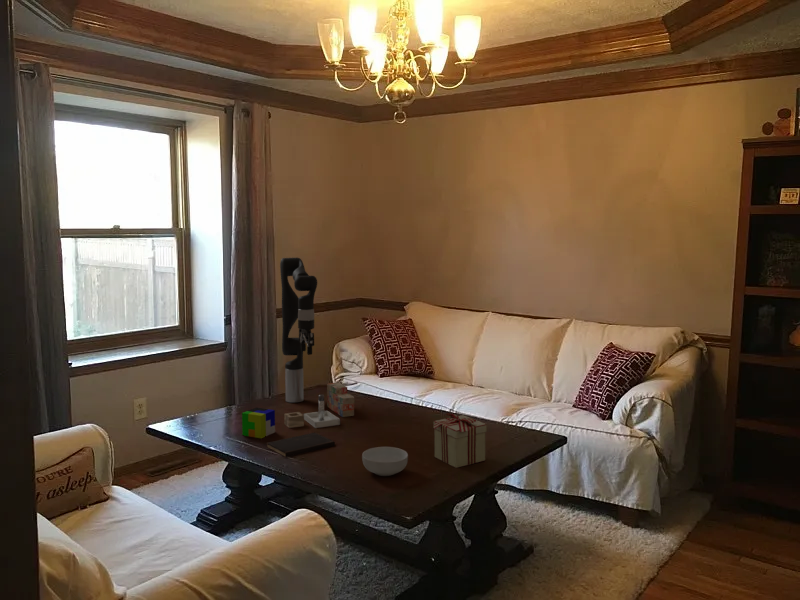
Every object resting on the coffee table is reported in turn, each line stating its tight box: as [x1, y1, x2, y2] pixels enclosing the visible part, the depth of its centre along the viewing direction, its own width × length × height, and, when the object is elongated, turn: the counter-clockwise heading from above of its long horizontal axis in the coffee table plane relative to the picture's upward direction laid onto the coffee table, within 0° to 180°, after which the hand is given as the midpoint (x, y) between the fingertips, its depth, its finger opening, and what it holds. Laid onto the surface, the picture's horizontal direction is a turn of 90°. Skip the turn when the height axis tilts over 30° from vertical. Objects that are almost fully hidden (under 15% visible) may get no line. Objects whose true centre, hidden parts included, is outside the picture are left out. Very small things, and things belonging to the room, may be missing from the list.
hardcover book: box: [266, 432, 336, 458], centre depth 277 cm, size 16×23×2 cm
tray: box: [303, 410, 341, 429], centre depth 312 cm, size 16×12×3 cm
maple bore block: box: [283, 411, 305, 429], centre depth 307 cm, size 7×7×5 cm
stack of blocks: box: [326, 381, 355, 418], centre depth 330 cm, size 21×6×12 cm, turn 26°
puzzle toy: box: [241, 407, 276, 439], centre depth 293 cm, size 10×10×10 cm
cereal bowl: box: [361, 446, 409, 477], centre depth 247 cm, size 17×17×7 cm
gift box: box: [433, 412, 487, 469], centre depth 260 cm, size 17×18×17 cm
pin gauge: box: [318, 394, 325, 421], centre depth 311 cm, size 3×3×12 cm
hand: (306, 352), depth 313 cm, fingers open, 8 cm apart
